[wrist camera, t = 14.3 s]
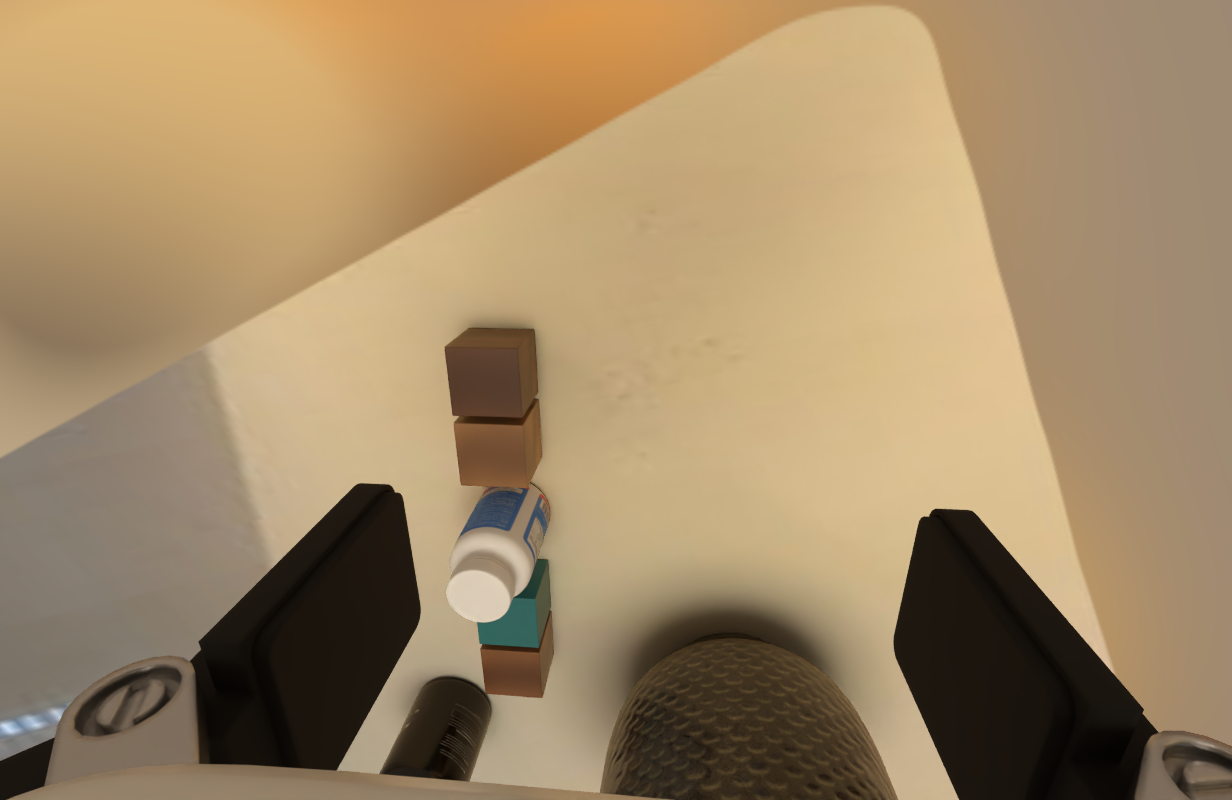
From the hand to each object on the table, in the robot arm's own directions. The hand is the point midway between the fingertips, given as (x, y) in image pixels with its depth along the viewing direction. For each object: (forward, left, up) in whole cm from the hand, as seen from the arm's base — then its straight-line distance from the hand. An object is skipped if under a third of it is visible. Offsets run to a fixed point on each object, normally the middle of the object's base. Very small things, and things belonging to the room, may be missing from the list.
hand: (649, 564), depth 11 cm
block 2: (+11, -11, -28) cm, 32 cm away
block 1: (+6, -11, -28) cm, 31 cm away
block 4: (+29, -11, -28) cm, 42 cm away
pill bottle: (+17, -11, -28) cm, 35 cm away
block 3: (+24, -11, -28) cm, 39 cm away
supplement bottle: (+38, -18, -28) cm, 51 cm away
